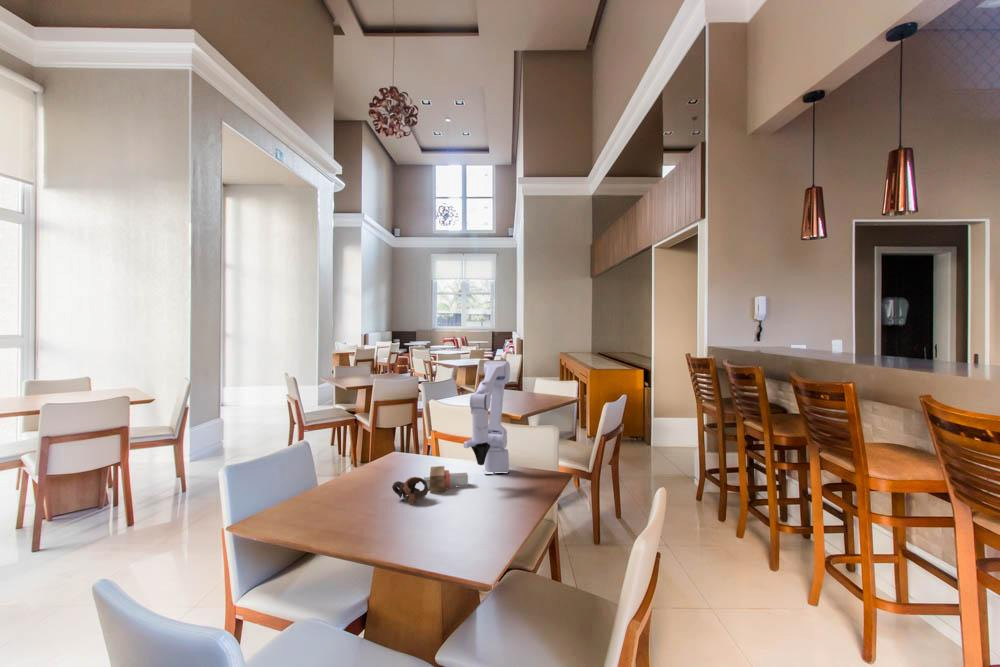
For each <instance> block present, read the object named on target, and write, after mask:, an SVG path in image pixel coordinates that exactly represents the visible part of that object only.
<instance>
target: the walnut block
mask: <svg viewBox="0 0 1000 667" xmlns="http://www.w3.org/2000/svg"><path fill="white" fill-rule="evenodd" d="M445 470H446V469H445V466H444V465H442V466H441V465H440V466H430V471H429V472H430V473H429V477H430V489H429V494H433V493H432V492H443V493H445V491H446V488H445Z"/></svg>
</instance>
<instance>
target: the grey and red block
mask: <svg viewBox="0 0 1000 667" xmlns="http://www.w3.org/2000/svg"><path fill="white" fill-rule="evenodd" d="M444 470H445V489H446V488H450V487H453V488H457V487H456V486H467V485H468V486H469V474H468V472H455V473H453V472H452V473H450V471H449V469H448V470H446V469H444ZM423 479H424V480H425V481H426V483H427V487H428V488H430V476H427V477H423ZM424 488H425V485H423V489H424ZM450 489H451V488H450Z"/></svg>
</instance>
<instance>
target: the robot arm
mask: <svg viewBox="0 0 1000 667" xmlns="http://www.w3.org/2000/svg"><path fill="white" fill-rule="evenodd" d="M483 373H484V379H483V380H481V381H480V382H479V383H478V387H477V389H476V391H475V393H473V394H471V395H470V398H469V407H470V408H469V409H470V413H471V415H472V418H471V419H472V437H471V439H468V440H466V441H463V448H465V449H470V448H471V449H472V451H473V453H474V456H475V459H476V462H477V465H479V466H484V468H485V471H487V472H493V473H495V472H509V473H510V464H509V463H510V460H509V456H510V455H509V450H508V449H507V448H506V447H507V445H508V430H507V429H506V428H505V427H504V426H503V425H502V415H503V414H502V413H503V406H504V405H503V402H504V392H505V385H507V384H508V383H509V382H510V377H511V366H510V362H509V361H508V360H505V361H503V360H502V361H501V360H499V361H498V360H497V361H494V360H493V361H491V360H486V361H485V362H484V363H483ZM489 409H490V410H489Z"/></svg>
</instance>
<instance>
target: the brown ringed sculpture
mask: <svg viewBox="0 0 1000 667" xmlns="http://www.w3.org/2000/svg"><path fill="white" fill-rule="evenodd" d="M419 483H421V484H422V485H423V486H424V485H425V488H424V487H423V489H422V490H421V489H420V488H417V487H416V485H417V484H419ZM391 487H392V491H393V492H394V493H395V494H396V495H397V496H398V497H399V499H400V498H402V497H403V498H405V497H406V496H408V499H407V504H409V505H413V504H414V503H415V502H417V501H419V500H422V499H424V498H425V497H426V496H427V495H428V493H429V492H430V489H428V487H427V483H426V481H425V480H424V478H422V477H418V476H413V477H409V478H407V479H406V481H405V482H403V481H397V480H396V481H394V482H393V484H392V486H391Z"/></svg>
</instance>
